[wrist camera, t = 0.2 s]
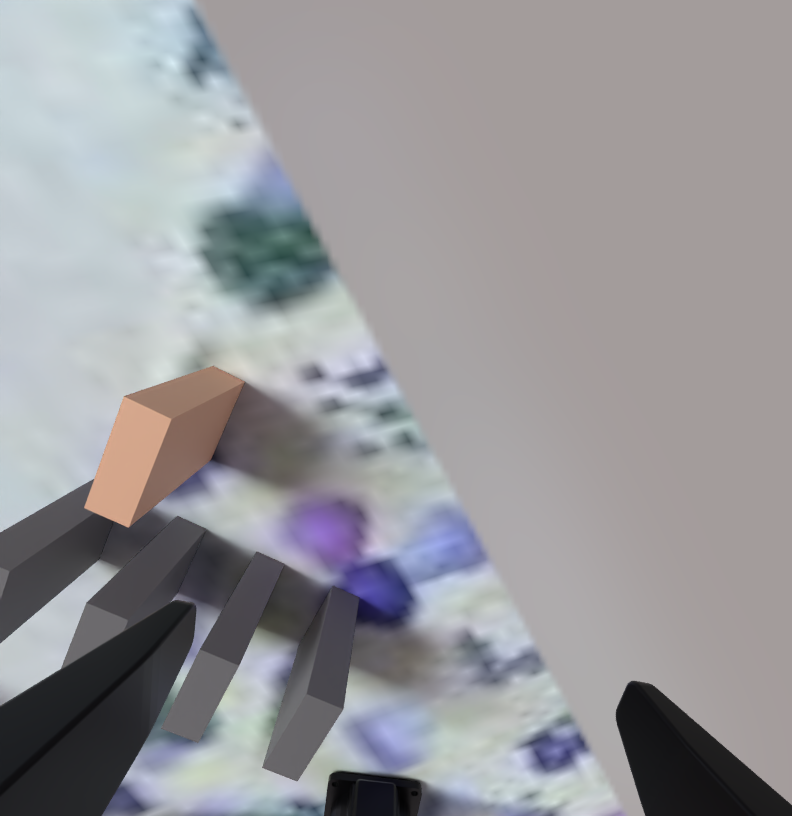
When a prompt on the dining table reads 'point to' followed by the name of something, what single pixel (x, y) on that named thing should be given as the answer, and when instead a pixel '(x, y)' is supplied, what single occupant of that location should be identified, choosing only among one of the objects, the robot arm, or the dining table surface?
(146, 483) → the tan rectangular block
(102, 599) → the domino
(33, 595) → the domino
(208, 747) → the dining table surface
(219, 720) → the dining table surface
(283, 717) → the domino
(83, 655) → the robot arm
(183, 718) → the domino
